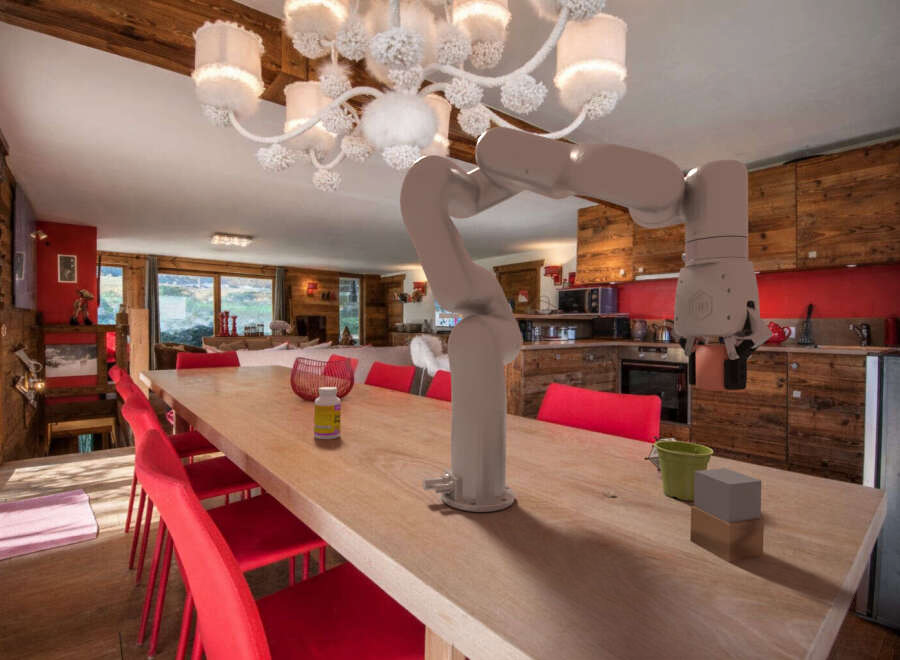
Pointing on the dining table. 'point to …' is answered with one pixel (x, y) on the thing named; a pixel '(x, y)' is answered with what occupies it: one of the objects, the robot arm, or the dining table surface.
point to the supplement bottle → (327, 414)
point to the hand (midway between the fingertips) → (716, 385)
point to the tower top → (727, 494)
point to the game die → (653, 454)
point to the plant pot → (681, 466)
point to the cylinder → (711, 367)
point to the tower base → (727, 536)
